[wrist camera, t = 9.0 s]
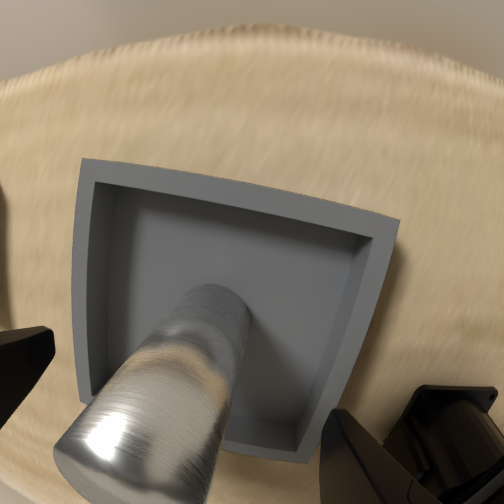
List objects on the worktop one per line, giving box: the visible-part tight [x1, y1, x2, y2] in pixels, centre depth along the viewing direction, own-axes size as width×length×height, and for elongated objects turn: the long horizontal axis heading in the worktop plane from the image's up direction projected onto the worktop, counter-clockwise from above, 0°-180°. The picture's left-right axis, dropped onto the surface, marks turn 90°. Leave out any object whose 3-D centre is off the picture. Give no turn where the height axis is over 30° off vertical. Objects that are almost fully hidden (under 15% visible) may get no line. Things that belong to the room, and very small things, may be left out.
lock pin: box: [53, 284, 251, 504], centre depth 9 cm, size 3×3×9 cm
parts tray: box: [71, 158, 400, 464], centre depth 12 cm, size 12×12×2 cm
